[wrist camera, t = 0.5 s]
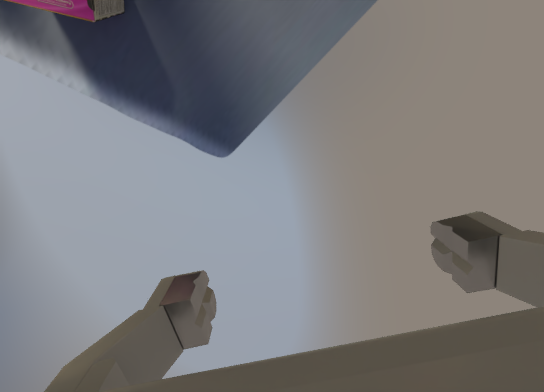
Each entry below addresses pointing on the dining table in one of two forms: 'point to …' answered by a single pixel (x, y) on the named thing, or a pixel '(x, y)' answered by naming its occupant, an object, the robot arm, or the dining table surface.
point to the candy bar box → (78, 7)
